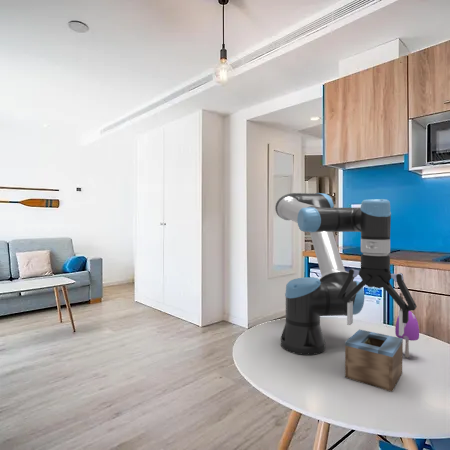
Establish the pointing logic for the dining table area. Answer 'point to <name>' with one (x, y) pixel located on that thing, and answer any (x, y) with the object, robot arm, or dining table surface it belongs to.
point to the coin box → (374, 359)
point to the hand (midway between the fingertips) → (374, 329)
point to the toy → (408, 331)
